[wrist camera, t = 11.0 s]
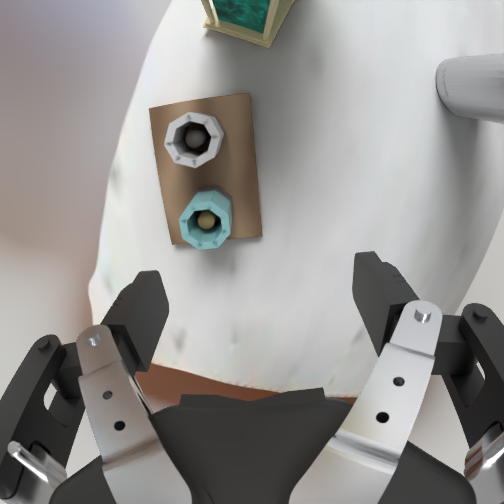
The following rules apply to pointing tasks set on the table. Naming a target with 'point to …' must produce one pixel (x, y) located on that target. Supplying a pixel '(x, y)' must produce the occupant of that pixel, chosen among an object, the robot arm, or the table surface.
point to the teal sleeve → (221, 229)
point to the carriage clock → (247, 18)
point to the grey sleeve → (182, 150)
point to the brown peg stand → (210, 164)
